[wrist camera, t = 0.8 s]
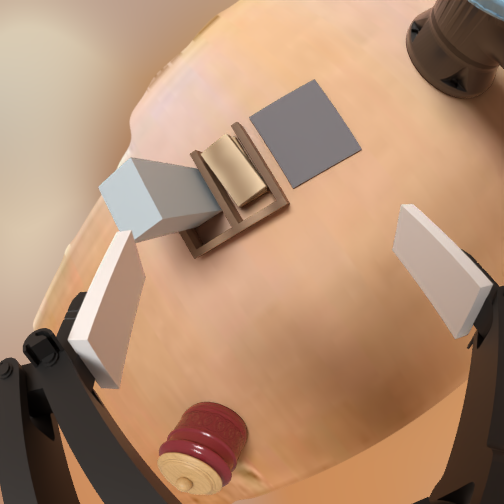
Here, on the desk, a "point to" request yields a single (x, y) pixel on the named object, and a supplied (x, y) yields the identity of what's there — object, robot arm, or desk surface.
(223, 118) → the desk surface
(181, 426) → the canister
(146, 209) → the pale blue thick slab
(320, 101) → the mat
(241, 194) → the offcut top
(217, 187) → the rack
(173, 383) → the desk surface
